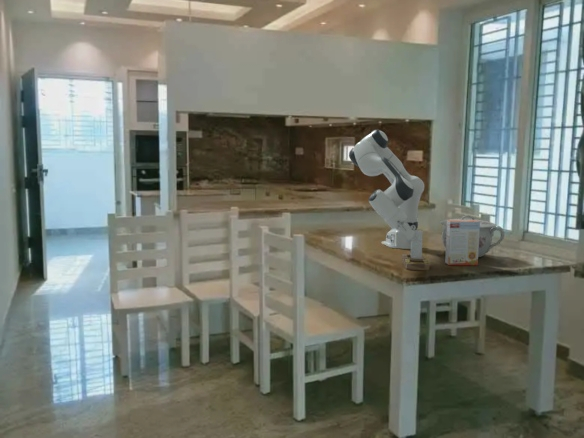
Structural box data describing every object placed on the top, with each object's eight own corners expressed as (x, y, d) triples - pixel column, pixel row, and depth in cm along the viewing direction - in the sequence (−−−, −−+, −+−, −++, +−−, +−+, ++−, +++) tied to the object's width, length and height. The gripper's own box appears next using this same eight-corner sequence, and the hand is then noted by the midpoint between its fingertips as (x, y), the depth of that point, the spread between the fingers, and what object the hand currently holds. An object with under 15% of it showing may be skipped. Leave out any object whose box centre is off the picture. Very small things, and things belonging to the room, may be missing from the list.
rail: (401, 258, 282) (401, 253, 282) (422, 259, 281) (422, 254, 281) (406, 269, 258) (406, 263, 258) (429, 270, 257) (429, 264, 257)
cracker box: (473, 263, 275) (476, 219, 272) (477, 265, 269) (480, 221, 266) (444, 262, 275) (446, 219, 272) (448, 265, 269) (450, 220, 266)
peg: (410, 255, 266) (411, 230, 264) (420, 256, 265) (421, 230, 264) (411, 257, 261) (412, 231, 260) (421, 258, 261) (422, 231, 259)
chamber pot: (427, 252, 301) (429, 212, 299) (470, 249, 311) (473, 211, 308) (460, 262, 275) (463, 219, 273) (507, 259, 285) (510, 218, 282)
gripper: (404, 218, 251) (426, 241, 251) (400, 212, 271) (420, 234, 272) (393, 228, 252) (415, 251, 252) (390, 221, 272) (410, 243, 273)
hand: (418, 242), depth 262 cm, fingers closed on peg, 4 cm apart
